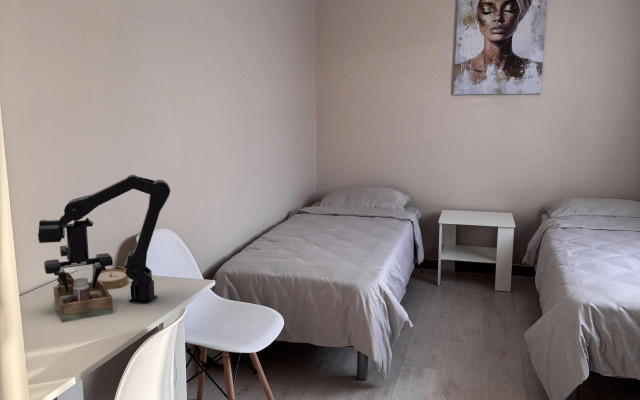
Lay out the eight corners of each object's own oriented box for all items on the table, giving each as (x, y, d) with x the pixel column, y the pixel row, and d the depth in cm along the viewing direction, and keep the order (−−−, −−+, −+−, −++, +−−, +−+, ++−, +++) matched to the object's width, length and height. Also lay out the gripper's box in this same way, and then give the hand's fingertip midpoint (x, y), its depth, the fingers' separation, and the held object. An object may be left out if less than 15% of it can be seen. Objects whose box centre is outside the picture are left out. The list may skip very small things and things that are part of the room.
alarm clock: (92, 283, 178) (94, 263, 192) (93, 296, 180) (95, 275, 193) (128, 280, 182) (127, 261, 195) (128, 292, 184) (127, 273, 197)
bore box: (101, 294, 175) (100, 280, 174) (112, 312, 160) (112, 296, 159) (54, 302, 168) (53, 287, 167) (61, 322, 153) (60, 305, 152)
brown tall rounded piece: (66, 286, 189) (72, 297, 177) (52, 281, 187) (57, 292, 174) (74, 271, 190) (80, 281, 178) (60, 266, 188) (65, 275, 175)
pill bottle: (92, 302, 168) (90, 277, 167) (88, 308, 164) (86, 281, 162) (76, 303, 168) (74, 277, 166) (71, 308, 163) (70, 282, 162)
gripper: (105, 232, 174) (107, 278, 176) (40, 238, 164) (44, 287, 167) (111, 239, 164) (114, 287, 167) (44, 246, 155) (48, 298, 157)
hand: (80, 289), depth 165 cm, fingers open, 7 cm apart
